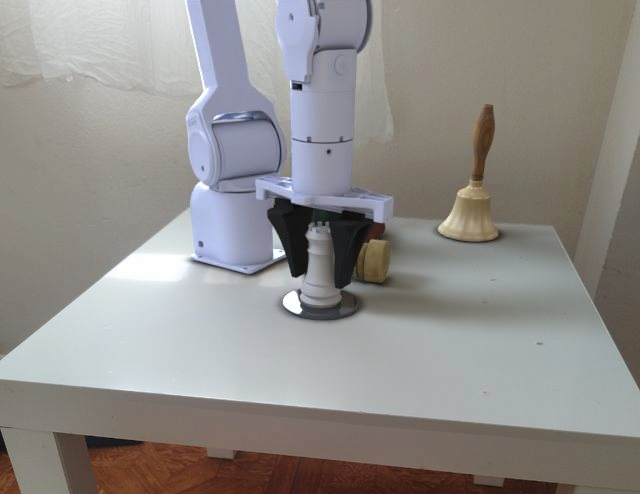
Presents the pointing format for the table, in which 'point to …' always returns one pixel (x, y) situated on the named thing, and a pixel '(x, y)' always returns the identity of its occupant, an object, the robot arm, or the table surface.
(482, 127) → the hand bell
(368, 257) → the gavel
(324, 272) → the rook chess piece
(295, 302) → the coaster
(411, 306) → the table surface
